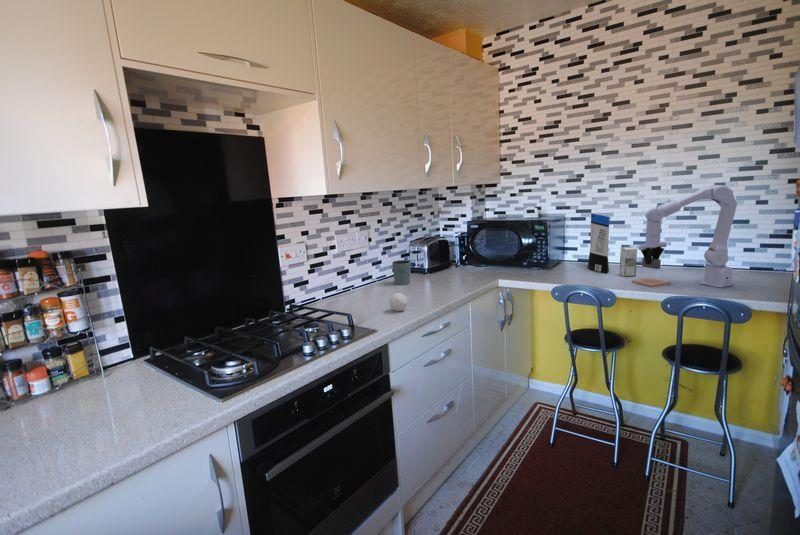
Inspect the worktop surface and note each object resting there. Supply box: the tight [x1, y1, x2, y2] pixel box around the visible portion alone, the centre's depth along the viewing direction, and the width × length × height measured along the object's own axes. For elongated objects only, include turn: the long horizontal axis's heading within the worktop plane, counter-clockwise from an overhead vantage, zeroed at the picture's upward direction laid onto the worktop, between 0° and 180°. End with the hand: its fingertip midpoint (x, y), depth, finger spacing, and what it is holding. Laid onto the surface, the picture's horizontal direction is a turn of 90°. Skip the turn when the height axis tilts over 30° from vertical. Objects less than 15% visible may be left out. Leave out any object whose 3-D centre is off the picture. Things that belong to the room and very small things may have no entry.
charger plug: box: [638, 257, 662, 270], centre depth 195 cm, size 10×4×4 cm, turn 18°
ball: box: [388, 292, 408, 312], centre depth 178 cm, size 8×8×8 cm
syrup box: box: [619, 246, 638, 277], centre depth 211 cm, size 6×6×14 cm
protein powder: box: [587, 213, 610, 275], centre depth 227 cm, size 10×24×30 cm, turn 176°
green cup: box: [391, 259, 412, 286], centre depth 225 cm, size 10×10×12 cm
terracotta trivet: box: [631, 277, 671, 288], centre depth 196 cm, size 11×11×1 cm
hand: (651, 263), depth 194 cm, fingers closed on charger plug, 4 cm apart
